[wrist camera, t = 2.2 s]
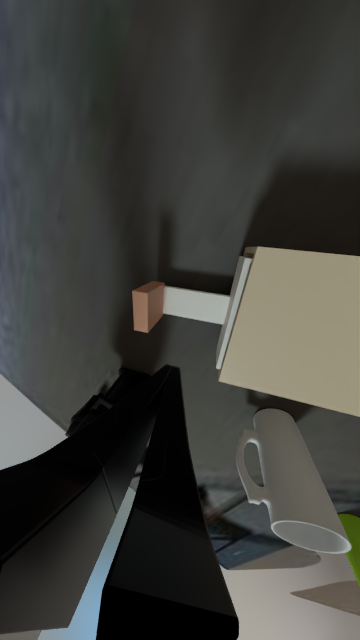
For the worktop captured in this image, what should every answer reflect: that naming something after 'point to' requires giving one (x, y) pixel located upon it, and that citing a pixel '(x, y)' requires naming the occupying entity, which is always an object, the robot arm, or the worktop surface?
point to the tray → (192, 305)
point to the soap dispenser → (352, 541)
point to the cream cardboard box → (298, 329)
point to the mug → (290, 485)
